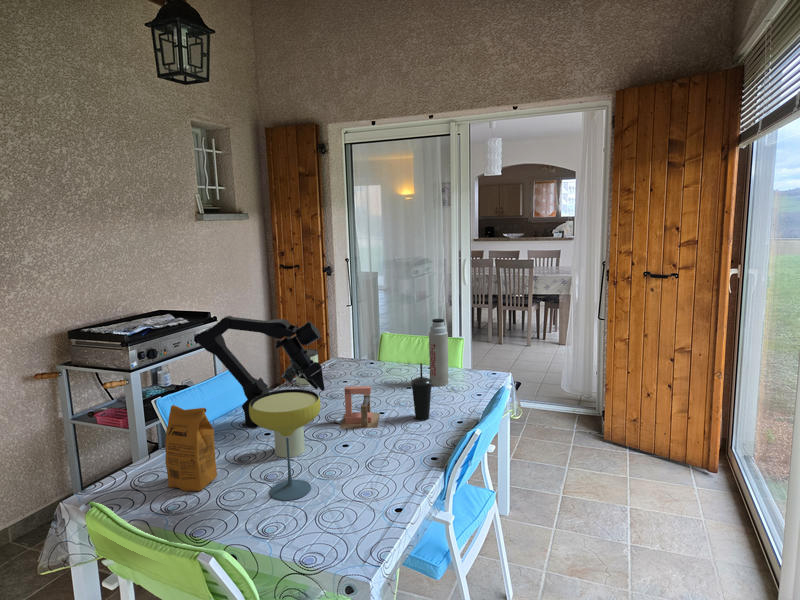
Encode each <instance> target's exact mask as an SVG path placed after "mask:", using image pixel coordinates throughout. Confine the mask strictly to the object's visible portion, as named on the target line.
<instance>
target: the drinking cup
mask: <svg viewBox="0 0 800 600" xmlns="http://www.w3.org/2000/svg"><path fill="white" fill-rule="evenodd" d="M419 366H420V370H419V373H420V377H415V378H413V379H411V380H410V384H411V390H412V398H413V406H414V414H415V416H414V417H415V420H418V421H427V420H429V419H430V411H431V396H432V386H433V385H432V380H431V379H430V378H428V377H426V376H423V363H419Z"/></svg>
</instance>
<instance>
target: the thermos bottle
mask: <svg viewBox="0 0 800 600" xmlns="http://www.w3.org/2000/svg"><path fill="white" fill-rule="evenodd" d="M431 322H432V323H431V324H432V325H431V326H429V332H428V348H429V349H428V353H429V355H428V356H429V379H431V380H432V385H431V386H433V387H444V386H448V385H449V335H448V333H449V332H448V331H447V327H446V326H445V323H444V322H445V320H444V319H443V318H434V319H432V321H431Z"/></svg>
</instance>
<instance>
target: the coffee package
mask: <svg viewBox="0 0 800 600" xmlns="http://www.w3.org/2000/svg"><path fill="white" fill-rule="evenodd" d="M207 411H208V410H207V408H206V407H198V408H197V407H196V408H188V409H184V408H181V407H179V406H178V405H174V404H172V405H171V406H170V410H169V415H168V422H167V427H166V435H165V467H166V471H167V472H166V474H167V482H168V483H167V484H168V488H178V489H180V490H182V491H183V492H201V491H203V490H204V489H205V488H206V487H207V486H208V485H209V484H211V482H212V481H215V480H216V478H217V477H218V473H217V472H218V471H217V462H216V445H215V444H216V443H215V429H214V428H213V426H212V424H211V422H210V420H209V419H208V417H207V415H206V413H207Z"/></svg>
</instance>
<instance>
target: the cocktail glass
mask: <svg viewBox="0 0 800 600" xmlns="http://www.w3.org/2000/svg"><path fill="white" fill-rule="evenodd" d="M320 411H321V399H320V396H319V395H318V394H317V393H316V392H315V391H312V390H308V389H298V388H296V389H294V388H293V389H292V388H290V389H278V390H273V391H269V393H265V394H262V395H260V396H257V397H256V398H254V399H253V400H252V401H251V402H250V404H249V414H250V418H251V420H252V421H253V422H254V423H255V424H257V425H258V427H261V428H263V429H265V430H269V431H273V432H274V431H277V432H279V433H280V434H281V435H282V436H283V437H284V438H286V445H287V458H286V459H287V479H286V480H283V481H280V482H278V483H276V484H274V485H273V486H272V487H271V488H270V490H269V495H270V497H271V498H272V499H274V500H276V501H281V502H282V501H284V502H289V501H296V500H299V499H302V498H303V497H305V496H307V495H308V494H309V493H310V492H311V490H312V486H311V483H309V482H308V480H303V479H296V478H295V479H293V476H292V470H291V469H292V467H291V457H290V454H289V437H290V436H291V435H292V434H293V432H294V431H295V430H296V429H298V428H300V427H302V426H303V427H304V426H306V425H308V424H309V423H311V422H313V420H314V419H316V418H317V416H319V414H320Z"/></svg>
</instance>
